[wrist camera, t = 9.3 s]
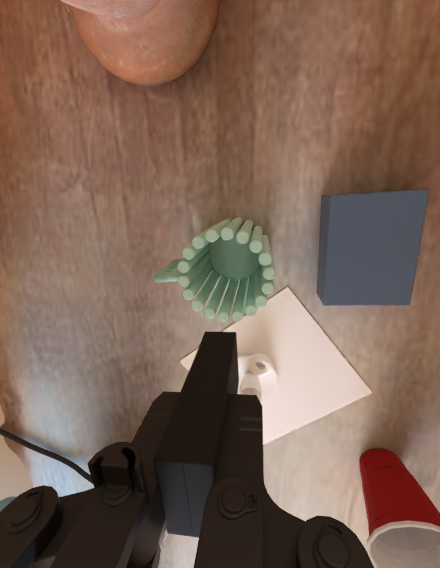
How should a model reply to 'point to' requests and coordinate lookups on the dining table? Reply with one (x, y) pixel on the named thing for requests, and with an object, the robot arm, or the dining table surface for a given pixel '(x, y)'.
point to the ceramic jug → (145, 35)
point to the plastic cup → (398, 514)
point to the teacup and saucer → (252, 380)
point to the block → (370, 247)
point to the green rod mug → (225, 269)
